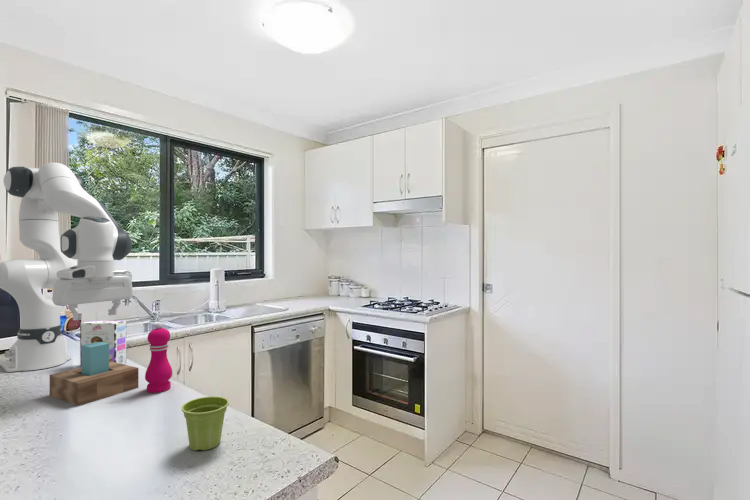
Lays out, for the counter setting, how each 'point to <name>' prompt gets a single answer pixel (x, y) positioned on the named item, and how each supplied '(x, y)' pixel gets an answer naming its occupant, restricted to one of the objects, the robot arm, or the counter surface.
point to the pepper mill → (158, 361)
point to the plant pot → (205, 421)
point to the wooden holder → (93, 384)
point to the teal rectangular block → (94, 358)
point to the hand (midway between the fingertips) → (95, 317)
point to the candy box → (106, 337)
